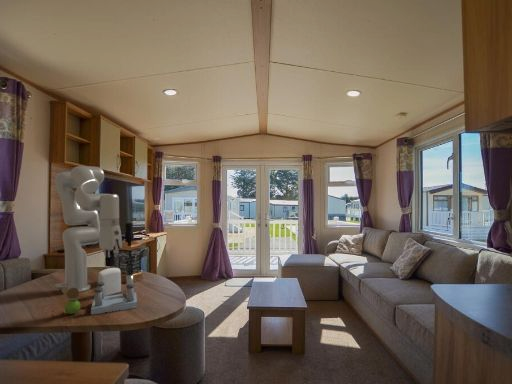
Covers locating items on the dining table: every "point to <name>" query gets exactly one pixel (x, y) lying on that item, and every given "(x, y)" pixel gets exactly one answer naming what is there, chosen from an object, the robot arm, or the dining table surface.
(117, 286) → the photo printer
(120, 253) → the whiskey bottle
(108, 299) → the stool frame
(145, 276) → the dining table surface
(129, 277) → the hinged leg
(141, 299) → the dining table surface
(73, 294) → the snail figurine
